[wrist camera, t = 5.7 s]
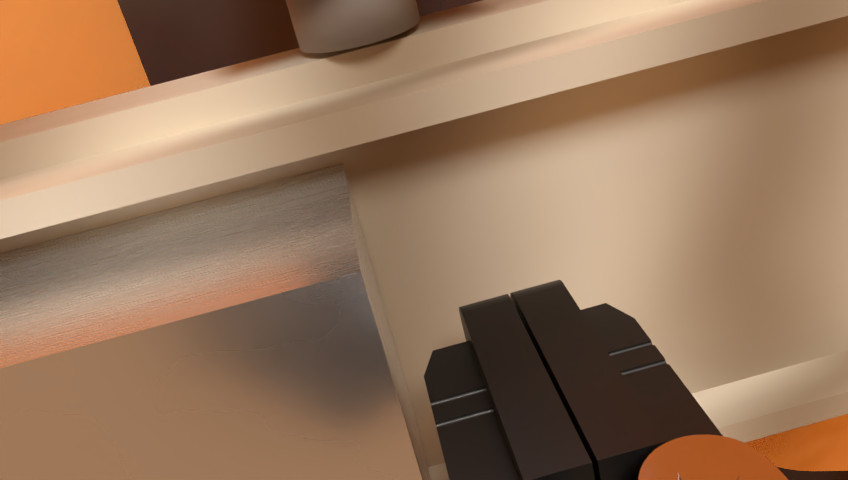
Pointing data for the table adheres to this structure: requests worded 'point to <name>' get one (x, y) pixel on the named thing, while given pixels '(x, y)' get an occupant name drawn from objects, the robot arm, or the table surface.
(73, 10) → the table surface
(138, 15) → the stand
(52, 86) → the table surface
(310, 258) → the rider
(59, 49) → the table surface
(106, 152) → the beam
